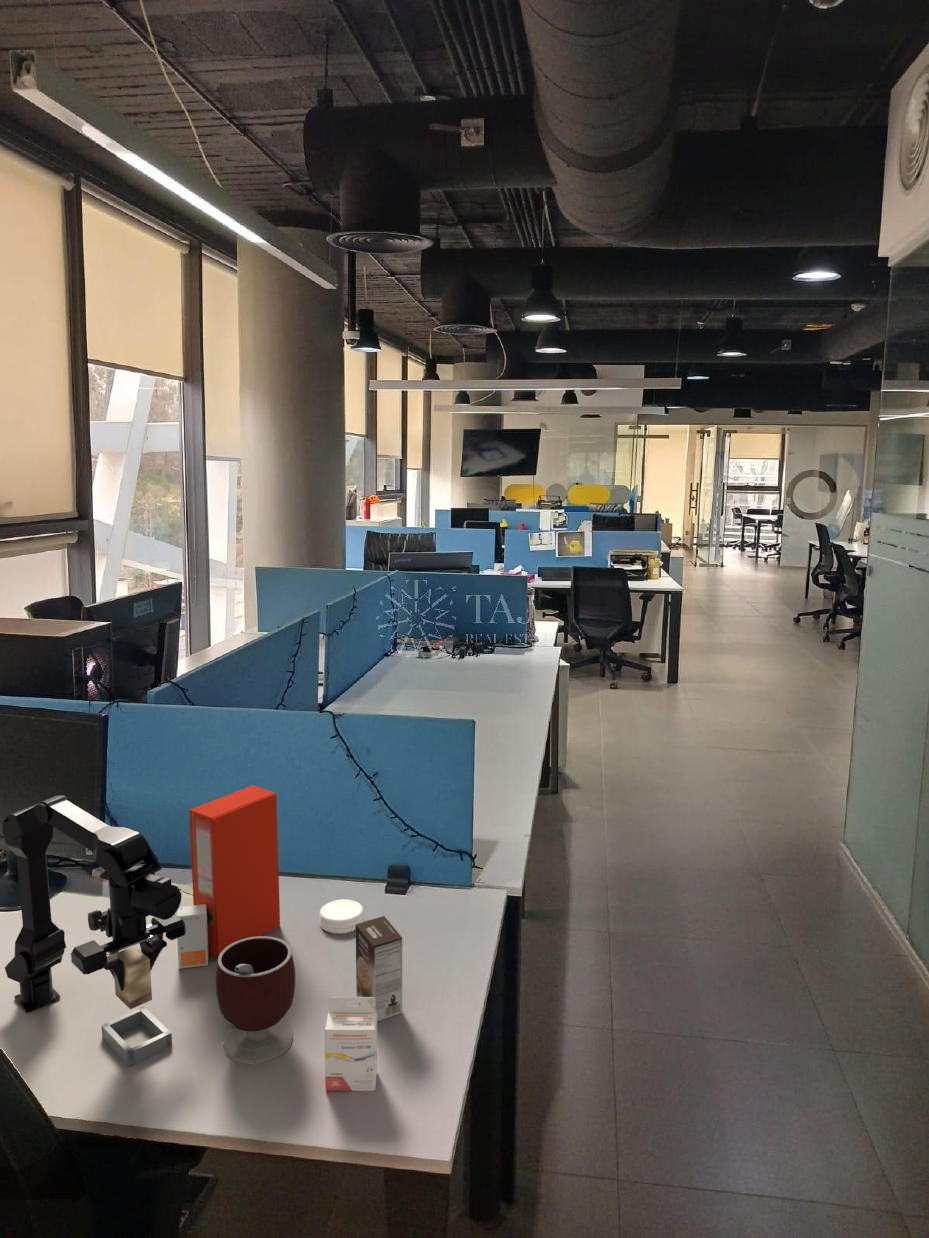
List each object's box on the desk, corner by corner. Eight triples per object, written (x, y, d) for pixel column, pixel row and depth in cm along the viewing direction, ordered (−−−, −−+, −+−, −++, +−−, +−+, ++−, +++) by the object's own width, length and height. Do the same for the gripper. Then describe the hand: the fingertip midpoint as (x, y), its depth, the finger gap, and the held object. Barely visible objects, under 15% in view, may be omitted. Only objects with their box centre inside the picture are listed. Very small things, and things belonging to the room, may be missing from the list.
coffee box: (355, 997, 172) (353, 922, 169) (384, 988, 175) (383, 914, 172) (373, 1023, 164) (372, 945, 161) (404, 1013, 167) (403, 936, 164)
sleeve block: (130, 1009, 154) (127, 967, 152) (115, 994, 158) (112, 954, 157) (152, 999, 157) (149, 958, 155) (136, 985, 161) (134, 945, 159)
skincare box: (178, 970, 181) (175, 916, 179) (179, 958, 185) (176, 906, 183) (209, 965, 183) (206, 912, 181) (209, 954, 187) (206, 903, 185)
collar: (102, 1037, 160) (101, 1025, 159) (144, 1018, 165) (143, 1006, 165) (129, 1066, 152) (128, 1053, 152) (172, 1044, 158) (171, 1032, 157)
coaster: (348, 939, 194) (347, 924, 193) (311, 928, 198) (310, 914, 197) (372, 918, 203) (371, 904, 202) (336, 908, 207) (335, 894, 206)
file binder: (281, 926, 198) (276, 792, 193) (220, 960, 185) (213, 818, 179) (256, 915, 203) (251, 784, 197) (195, 948, 189) (188, 809, 183)
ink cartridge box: (324, 1092, 146) (322, 1013, 144) (328, 1072, 151) (326, 995, 148) (376, 1091, 147) (375, 1012, 144) (378, 1071, 151) (377, 994, 149)
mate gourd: (235, 1014, 167) (231, 917, 163) (306, 1019, 165) (303, 922, 162) (202, 1069, 152) (197, 964, 148) (280, 1076, 150) (276, 970, 146)
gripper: (156, 871, 166) (160, 946, 169) (55, 906, 153) (62, 987, 156) (185, 892, 159) (189, 970, 161) (81, 930, 145) (88, 1014, 148)
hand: (133, 984), depth 157 cm, fingers closed on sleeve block, 4 cm apart
